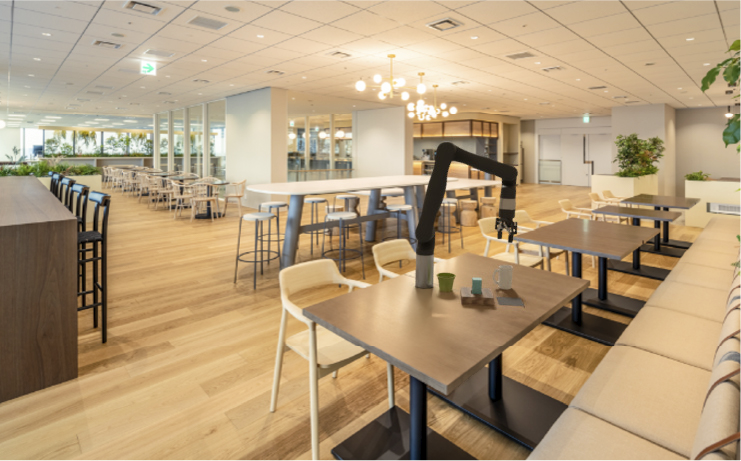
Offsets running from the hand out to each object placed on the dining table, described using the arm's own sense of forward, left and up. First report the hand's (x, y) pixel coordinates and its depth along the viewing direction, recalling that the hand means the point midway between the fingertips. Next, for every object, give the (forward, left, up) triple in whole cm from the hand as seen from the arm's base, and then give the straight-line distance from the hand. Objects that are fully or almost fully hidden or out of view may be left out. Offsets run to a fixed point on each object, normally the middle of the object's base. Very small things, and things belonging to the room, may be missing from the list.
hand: (504, 240), depth 194 cm
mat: (+1, -15, -26) cm, 30 cm away
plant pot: (-28, -3, -27) cm, 38 cm away
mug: (0, +5, -27) cm, 27 cm away
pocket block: (-14, -15, -26) cm, 33 cm away
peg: (-14, -15, -25) cm, 32 cm away
